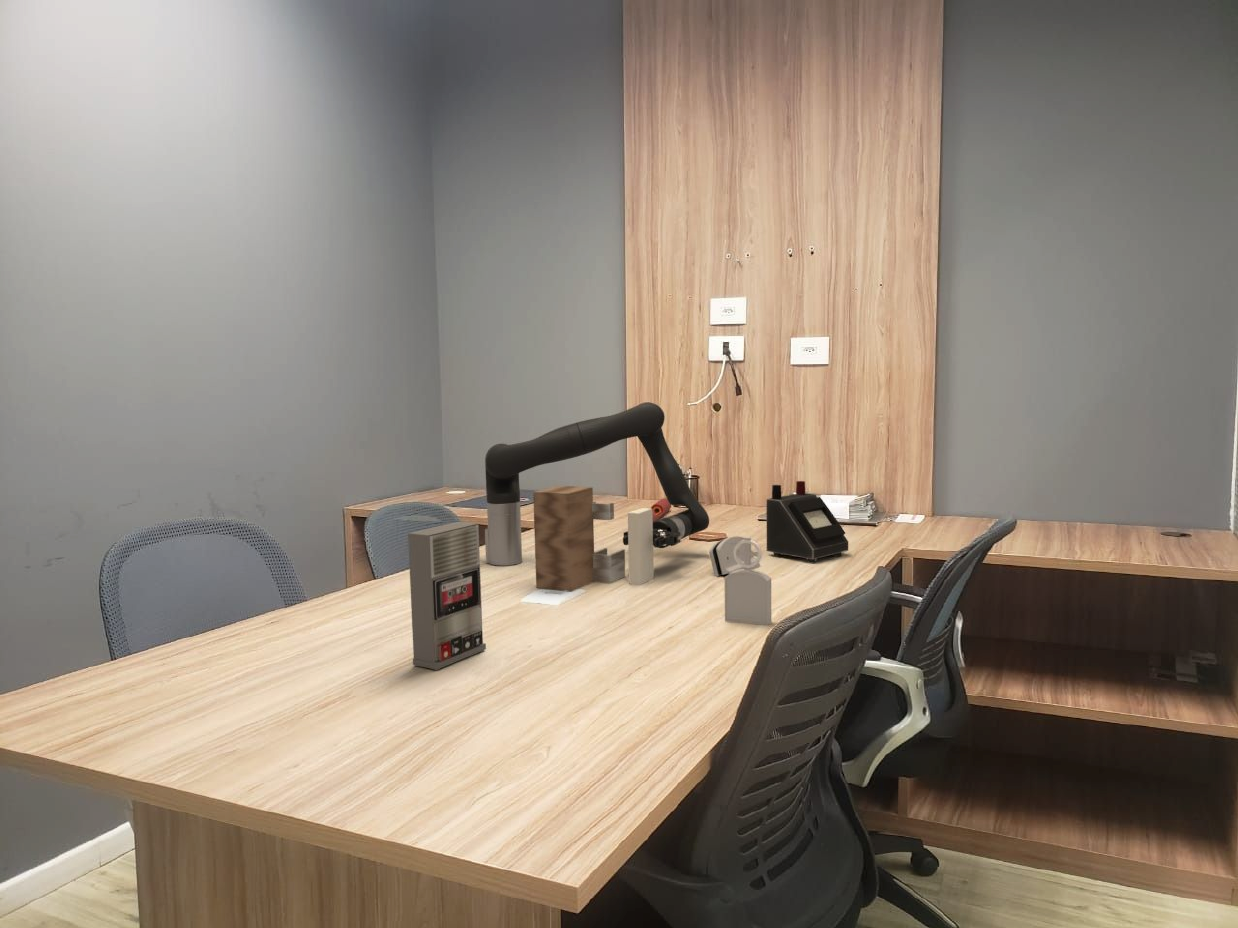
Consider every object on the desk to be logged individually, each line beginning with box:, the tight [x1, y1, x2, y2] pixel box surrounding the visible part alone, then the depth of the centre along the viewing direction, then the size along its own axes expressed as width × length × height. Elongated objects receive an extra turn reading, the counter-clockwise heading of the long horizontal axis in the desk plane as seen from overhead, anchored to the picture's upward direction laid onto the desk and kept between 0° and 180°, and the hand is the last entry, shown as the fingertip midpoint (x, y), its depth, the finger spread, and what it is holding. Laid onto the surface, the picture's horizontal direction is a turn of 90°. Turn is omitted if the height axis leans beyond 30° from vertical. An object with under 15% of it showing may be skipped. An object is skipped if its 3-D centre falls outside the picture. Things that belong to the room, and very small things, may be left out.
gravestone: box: [723, 536, 772, 626], centre depth 197 cm, size 3×9×18 cm, turn 65°
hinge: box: [708, 536, 761, 577], centre depth 246 cm, size 17×5×10 cm, turn 145°
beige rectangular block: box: [627, 507, 654, 586], centre depth 236 cm, size 3×8×18 cm, turn 153°
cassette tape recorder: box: [407, 521, 487, 671], centre depth 176 cm, size 14×6×25 cm, turn 148°
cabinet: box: [532, 485, 626, 592], centre depth 236 cm, size 15×20×24 cm
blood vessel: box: [650, 497, 672, 522], centre depth 328 cm, size 42×5×5 cm, turn 166°
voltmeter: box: [765, 480, 849, 564], centre depth 262 cm, size 16×16×20 cm
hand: (640, 542), depth 235 cm, fingers open, 8 cm apart
